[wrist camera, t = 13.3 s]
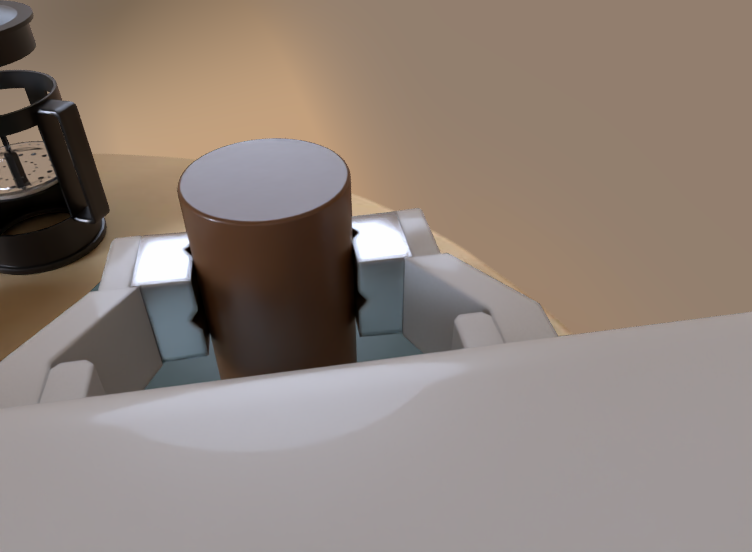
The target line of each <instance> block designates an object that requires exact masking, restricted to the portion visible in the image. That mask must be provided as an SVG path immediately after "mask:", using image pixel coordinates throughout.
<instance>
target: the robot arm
mask: <svg viewBox="0 0 752 552" xmlns="http://www.w3.org/2000/svg"><path fill="white" fill-rule="evenodd" d="M352 232H353V273H354V302H355V319H356V323H357V327H358V331H359V336H360V337H369V336H379V335H389V334H400V333H403V336H404V337H406V338H407V339H408V340H409V341H410V342H411V343H412V344H414V345H415V346H416V347H417V348H418V349H419V350H420V351H421V352H423V353H424V354H419V355H411V356H403V357H396V358H388V359H380V360H372V361H365V362H357V363H349V364H341V365H334V366H326V367H318V368H310V369H303V370H295V371H287V372H279V373H271V374H264V375H256V376H248V377H240V378H233V379H225V380H217V381H209V382H202V383H194V384H186V385H178V386H171V387H163V388H155V389H147V390H144V389H145V387H146V386H147V385H148V384H149V382H150V381H151V380H152V378H153V377H154V376H155V375H156V373H157V372H158V371H159V370H160V368H161V367H162V366H163V364H162V363H166V362H172V361H179V360H186V359H192V358H199V357H206V356H209V343H210V331H209V327H208V323H207V318H206V314H205V310H204V305H203V301H202V297H201V292H200V288H199V284H198V279H197V275H196V271H195V266H194V262H193V258H192V253H191V249H190V245H189V240H188V236H187V232H181V233H169V234H156V235H144V236H131V237H122V238H115V239H114V240H113V241H112V242H111V245H110V249H109V253H108V256H107V260H106V264H105V267H104V271H103V275H102V278H101V282H100V286H99V289H98V291H92V292H89V293H88V294H87V295H85V296H84V297H83V298H81V299H80V300H79V301H78V302H76V303H75V304H74V305H72V306H71V307H70V308H69V309H67V310H66V311H65V312H63V313H62V314H61V315H60V316H58V317H57V318H56V319H54V320H53V321H52V322H51V323H49V324H48V325H47V326H46V327H44V328H43V329H42V330H40V331H39V332H38V333H37V334H35V335H34V336H33V337H31V338H30V339H29V340H28V341H26V342H25V343H24V344H22V345H21V346H20V347H19V348H17V349H16V350H15V351H13V352H12V353H11V354H10V355H8V356H7V357H6V358H4V359H3V360H2V361H1V362H0V552H752V312H746V313H738V314H730V315H722V316H714V317H707V318H699V319H691V320H684V321H675V322H668V323H660V324H652V325H645V326H636V327H629V328H621V329H613V330H605V331H597V332H589V333H582V334H574V335H566V336H558V335H557V333H556V331H555V330H554V328H553V326H552V324H551V323H550V321H549V319H548V317H547V316H546V314H545V312H544V310H543V309H542V307H541V305H540V304H539V303H538V302H536V301H534V300H532V299H530V298H528V297H527V296H525V295H523V294H521V293H519V292H518V291H516V290H514V289H512V288H510V287H509V286H507V285H505V284H503V283H501V282H499V281H498V280H496V279H494V278H492V277H490V276H489V275H487V274H485V273H483V272H481V271H479V270H478V269H476V268H474V267H472V266H470V265H469V264H467V263H465V262H463V261H461V260H459V259H458V258H456V257H454V256H452V255H450V254H449V253H443V254H441V253H440V250H439V248H438V246H437V244H436V241H435V239H434V237H433V234H432V232H431V230H430V227H429V226H428V223H427V221H426V219H425V216H424V214H423V211H422V210H421V209H420V208H416V209H408V210H400V211H394V212H386V213H378V214H370V215H362V216H353V217H352Z"/></svg>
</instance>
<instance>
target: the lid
mask: <svg viewBox="0 0 752 552" xmlns="http://www.w3.org/2000/svg"><path fill="white" fill-rule="evenodd" d="M177 192H178V197H179V202H180V206H181V210H182V215H183V219H184V223H185V227H186V232H187V236H188V240H189V245H190V249H191V253H192V258H193V262H194V266H195V271H196V275H197V279H198V284H199V288H200V292H201V297H202V301H203V305H204V310H205V314H206V318H207V323H208V327H209V331H210V343H209V356H206V357H199V358H192V359H186V360H179V361H172V362H166V363H162V364H163V366H162V367H161V368H160V370H159V371H158V372H157V373H156V375H155V376H154V377H153V378H152V380H151V381H150V382H149V384H148V385H147V386H146V387H145V389H144V390H147V389H155V388H163V387H171V386H178V385H186V384H194V383H202V382H209V381H217V380H225V379H233V378H240V377H248V376H256V375H264V374H271V373H279V372H287V371H295V370H303V369H310V368H318V367H326V366H334V365H341V364H349V363H357V362H365V361H372V360H380V359H388V358H396V357H403V356H411V355H419V354H424V353H423V352H421V351H420V350H419V349H418V348H417V347H416V346H415V345H414V344H412V343H411V342H410V341H409V340H408V339H407V338H406V337H404V336H403V333H400V334H389V335H379V336H369V337H360V336H359V331H358V327H357V323H356V319H355V302H354V273H353V232H352V203H351V176H350V171H349V168H348V166H347V164H346V163H345V161H344V160H343V159H342V158H341V157H340V156H339V155H338V154H336V153H335V152H334V151H332V150H330V149H328V148H326V147H323V146H321V145H318V144H315V143H311V142H307V141H302V140H295V139H281V138H273V139H258V140H250V141H244V142H239V143H235V144H231V145H227V146H224V147H221V148H218V149H216V150H214V151H211V152H209V153H207V154H205V155H203V156H201V157H200V158H199V159H197V160H195V161H194V162H193V163H192V164H190V165H189V166H188V167H187V168H186V169H185V171H184V172H183V173H182V175H181V177H180V179H179V182H178V188H177Z"/></svg>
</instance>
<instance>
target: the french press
mask: <svg viewBox="0 0 752 552" xmlns="http://www.w3.org/2000/svg"><path fill="white" fill-rule="evenodd" d="M32 19H33V12H32V9H31V8H30V7H29V6H27V5H25V4H22V3H18V2H13V1H3V0H0V67H1V66H5V65H7V64H10V63H13V62H15V61H17V60H20V59H22V58H23V57H25V56H27V55H28V54H30V53H31V52H32V51H33V50H34V49H35V47H36V43H35V40H34V37H33V34H32V31H31V28H30V25H29V22H31V20H32ZM8 88H25V91H26V93H27V96H28V99H29V101H30V104H31V105H30V106H28V107H25V108H22V109H20V110H17V111H14V112H11V113H8V114H4V115H0V138H1V140H2V142H3V145H4V146H2V147H0V273H3V274H12V275H25V274H34V273H41V272H45V271H49V270H53V269H56V268H59V267H62V266H65V265H67V264H70V263H72V262H74V261H76V260H78V259H80V258H81V257H83V256H85V255H86V254H88V253H89V252H90V251H92V250H93V249H94V248H95V247H96V246H97V245H98V244H99V243H100V242H101V241H102V239H103V237H104V235H105V233H106V228H107V226H106V221H105V218H104V216H106V215H107V214H108V213H109V211H110V209H109V205H108V202H107V199H106V196H105V193H104V190H103V187H102V183H101V180H100V177H99V174H98V171H97V168H96V165H95V162H94V159H93V155H92V152H91V149H90V146H89V143H88V140H87V137H86V134H85V131H84V128H83V124H82V121H81V119H80V115H79V112H78V109H77V106H76V104H74V103H73V102H70V101H62V98H61V95H60V92H59V89H58V86H57V83H56V81H55V80H54V78H53V77H51V76H49V75H47V74H44V73H41V72H36V71H30V70H5V71H4V70H3V71H0V89H8ZM47 91H48V92H50V93H49V94H47ZM58 121H59V122H58ZM59 124H60V125H59ZM36 125H37V126H38V128H39V131H40V134H41V136H42V139H43V141H31V142H22V143H16V144H10V145H9V142H8V140H7V137H6V136H7V135H11V134H14V133H18V132H21V131H23V130H26V129H29V128H31V127H34V126H36ZM60 127H61V128H60ZM61 130H62V131H61ZM66 144H67V145H66ZM75 170H76V171H75ZM76 173H77V174H76ZM77 176H78V177H77ZM52 212H69V213H70V215H71V217H69V218H68V219H66V220H64V221H62V222H60V223H58V224H55V225H53V226H51V227H48V228H45V229H41V230H38V231H34V232H29V233H25V234H17V235H2V234H3V233H4V232H5V231H6V230H7V229H9V228H10V227H11V226H13V225H15V224H16V223H18V222H20V221H22V220H25V219H27V218H30V217H33V216H36V215H40V214H45V213H52Z"/></svg>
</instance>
